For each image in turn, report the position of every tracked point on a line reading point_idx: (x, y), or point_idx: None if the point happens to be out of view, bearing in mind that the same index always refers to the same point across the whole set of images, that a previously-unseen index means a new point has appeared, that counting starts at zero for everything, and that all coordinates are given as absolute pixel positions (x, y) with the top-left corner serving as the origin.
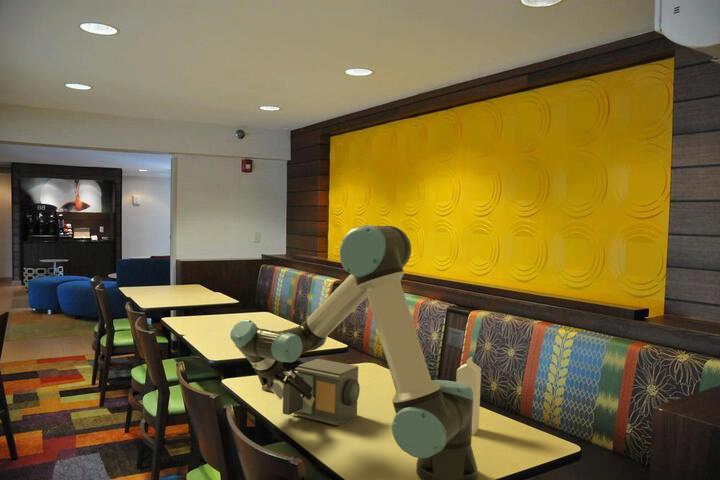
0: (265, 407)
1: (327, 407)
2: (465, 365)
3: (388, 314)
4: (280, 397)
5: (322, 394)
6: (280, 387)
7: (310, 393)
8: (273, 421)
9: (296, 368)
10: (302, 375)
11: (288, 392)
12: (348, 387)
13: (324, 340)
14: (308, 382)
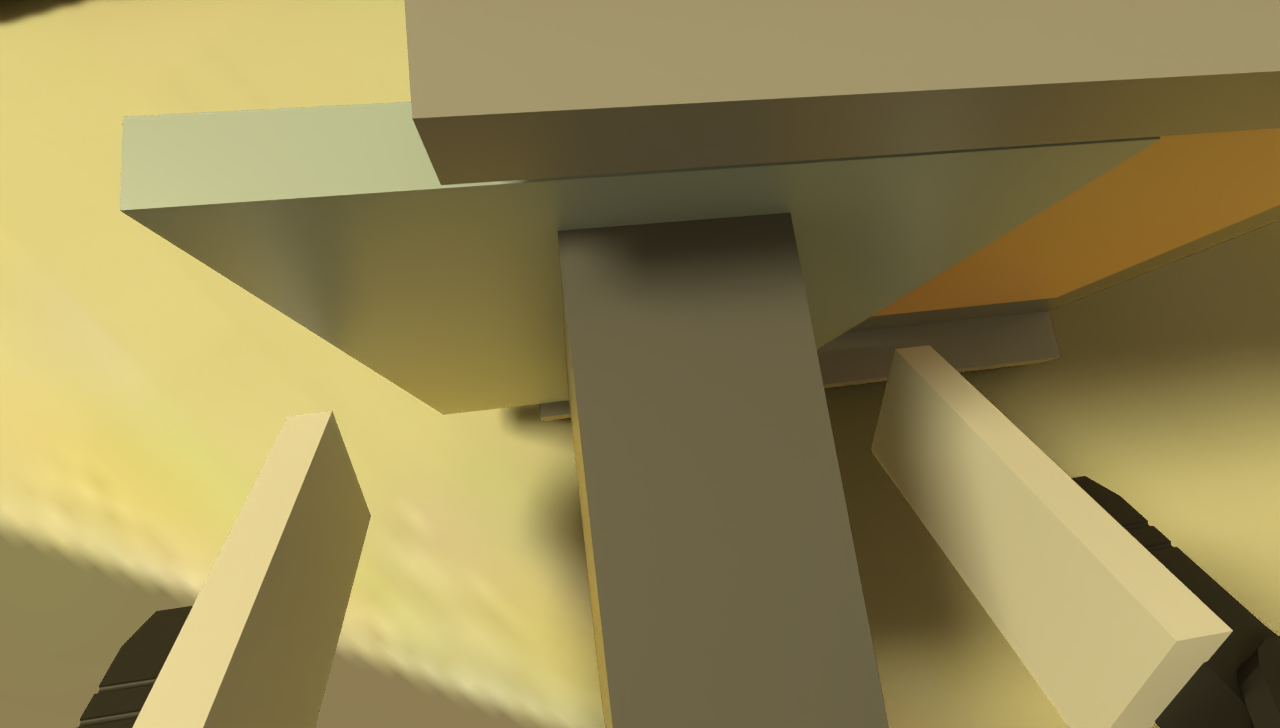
0: (80, 429)
1: (1000, 289)
2: None
3: None
4: (355, 539)
5: (1037, 238)
6: (278, 569)
7: (1179, 556)
8: (479, 689)
9: (495, 84)
10: (769, 188)
11: None
12: None
13: None
14: (909, 246)
